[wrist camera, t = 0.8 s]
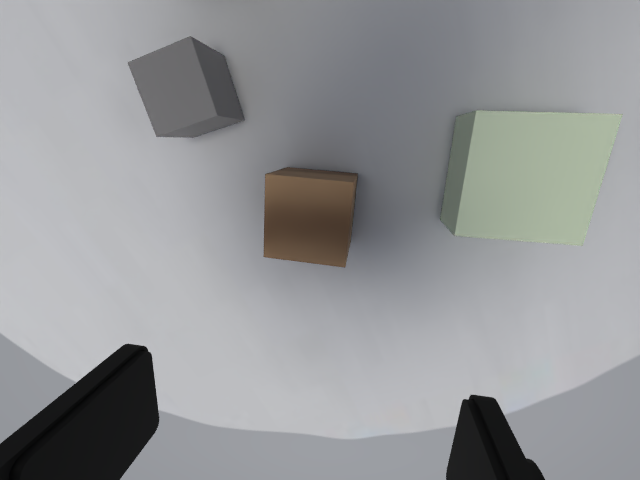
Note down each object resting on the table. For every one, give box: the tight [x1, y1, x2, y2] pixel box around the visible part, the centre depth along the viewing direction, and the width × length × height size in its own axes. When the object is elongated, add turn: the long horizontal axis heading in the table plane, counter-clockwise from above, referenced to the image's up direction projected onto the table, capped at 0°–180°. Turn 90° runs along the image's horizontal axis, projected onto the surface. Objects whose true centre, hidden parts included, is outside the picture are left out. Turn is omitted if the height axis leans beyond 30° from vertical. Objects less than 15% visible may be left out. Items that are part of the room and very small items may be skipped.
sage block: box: [440, 110, 623, 246], centre depth 22 cm, size 8×8×5 cm
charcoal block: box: [128, 36, 245, 138], centre depth 24 cm, size 5×5×5 cm
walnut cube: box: [264, 167, 358, 267], centre depth 25 cm, size 6×6×6 cm
